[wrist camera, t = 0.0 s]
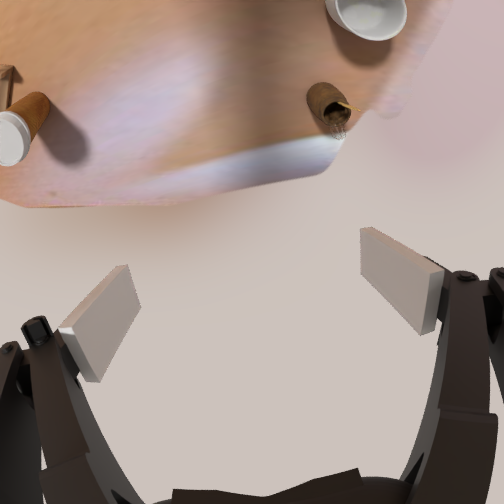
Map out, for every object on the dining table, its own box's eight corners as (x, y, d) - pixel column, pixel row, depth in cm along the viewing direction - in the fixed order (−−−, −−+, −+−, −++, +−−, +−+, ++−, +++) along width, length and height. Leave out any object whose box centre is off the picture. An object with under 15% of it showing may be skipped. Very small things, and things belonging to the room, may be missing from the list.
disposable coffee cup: (19, 80, 27) (-19, 113, 20) (61, 87, 31) (27, 120, 24) (15, 125, 33) (-17, 163, 26) (54, 132, 38) (26, 173, 31)
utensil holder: (301, 108, 43) (324, 144, 36) (310, 76, 38) (337, 105, 31) (332, 113, 44) (359, 149, 37) (342, 83, 39) (374, 113, 32)
